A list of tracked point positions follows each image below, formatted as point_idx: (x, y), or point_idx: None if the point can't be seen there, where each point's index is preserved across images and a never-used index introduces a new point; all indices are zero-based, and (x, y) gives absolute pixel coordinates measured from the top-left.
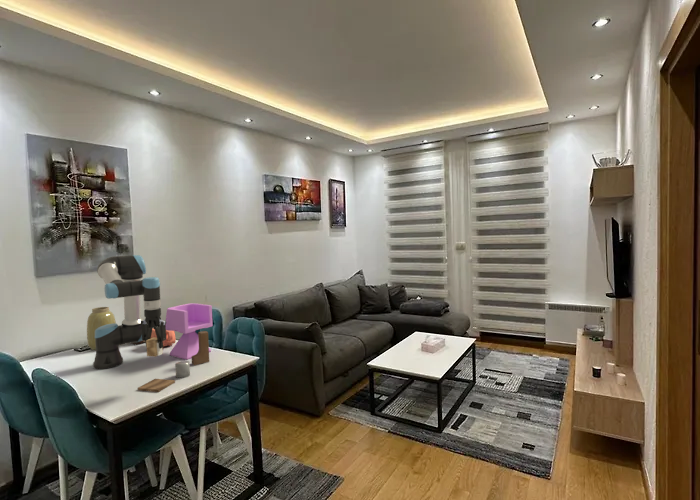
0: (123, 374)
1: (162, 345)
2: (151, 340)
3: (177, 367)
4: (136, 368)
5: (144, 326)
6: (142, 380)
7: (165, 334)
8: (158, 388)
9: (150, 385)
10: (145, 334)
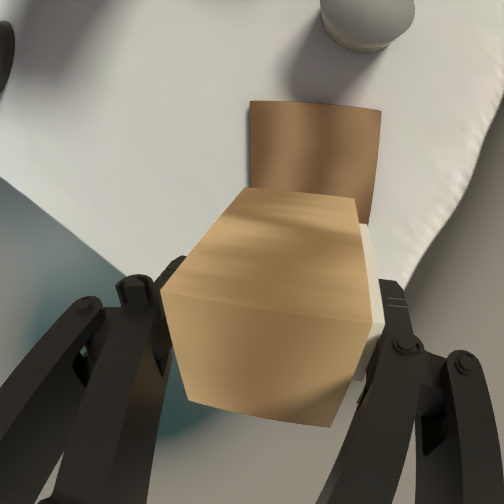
0: (69, 87)
1: (403, 311)
2: (273, 418)
3: (362, 41)
4: (68, 25)
5: (21, 493)
6: (184, 109)
7: (487, 445)
8: (359, 216)
9: (293, 187)
10: (77, 384)
